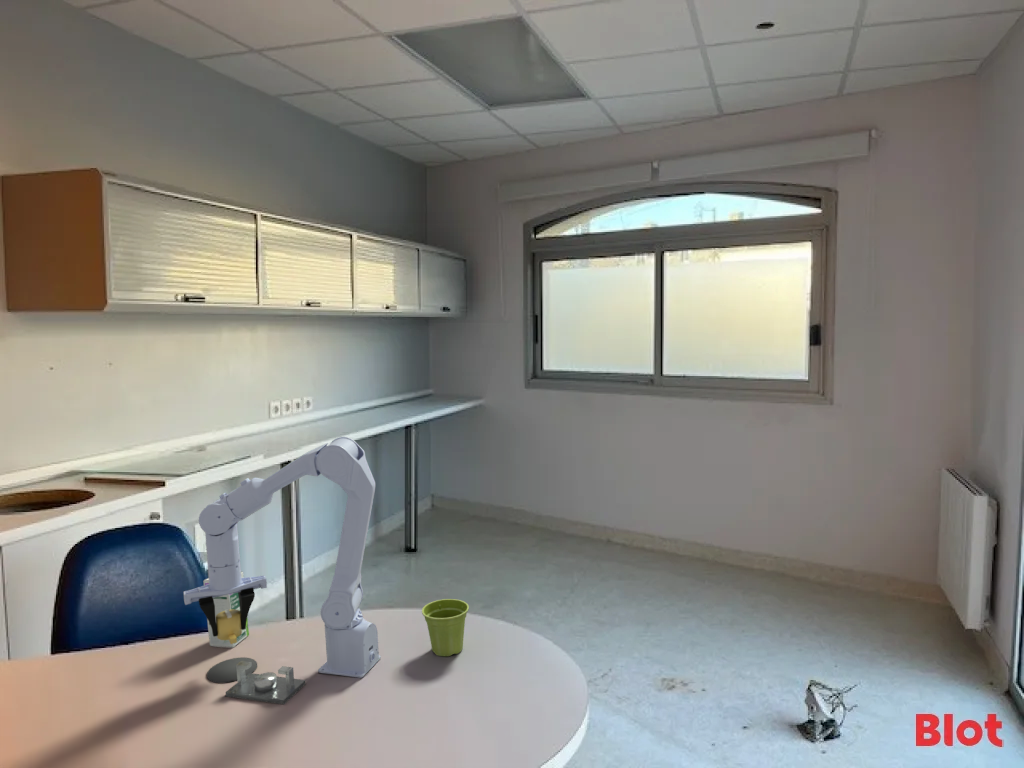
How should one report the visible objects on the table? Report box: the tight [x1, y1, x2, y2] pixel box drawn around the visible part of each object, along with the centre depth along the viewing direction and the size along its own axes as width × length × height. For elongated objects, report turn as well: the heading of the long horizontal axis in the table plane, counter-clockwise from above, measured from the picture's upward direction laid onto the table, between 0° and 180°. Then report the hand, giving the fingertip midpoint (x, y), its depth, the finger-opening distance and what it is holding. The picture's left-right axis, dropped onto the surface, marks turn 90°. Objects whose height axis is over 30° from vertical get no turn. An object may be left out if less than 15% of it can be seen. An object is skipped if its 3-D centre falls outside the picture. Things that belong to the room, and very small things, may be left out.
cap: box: [216, 609, 242, 644], centre depth 131 cm, size 8×4×4 cm, turn 33°
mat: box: [206, 656, 258, 684], centre depth 133 cm, size 9×9×1 cm
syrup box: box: [202, 570, 250, 649], centre depth 144 cm, size 6×6×14 cm
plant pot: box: [421, 598, 470, 657], centre depth 137 cm, size 9×9×9 cm
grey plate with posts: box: [225, 661, 307, 705], centre depth 125 cm, size 12×7×5 cm, turn 74°
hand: (229, 630), depth 132 cm, fingers closed on cap, 4 cm apart
